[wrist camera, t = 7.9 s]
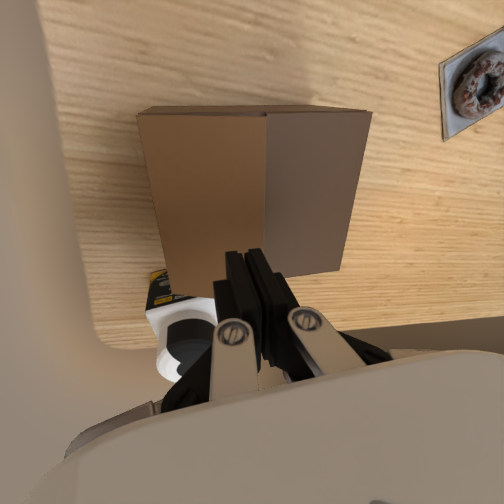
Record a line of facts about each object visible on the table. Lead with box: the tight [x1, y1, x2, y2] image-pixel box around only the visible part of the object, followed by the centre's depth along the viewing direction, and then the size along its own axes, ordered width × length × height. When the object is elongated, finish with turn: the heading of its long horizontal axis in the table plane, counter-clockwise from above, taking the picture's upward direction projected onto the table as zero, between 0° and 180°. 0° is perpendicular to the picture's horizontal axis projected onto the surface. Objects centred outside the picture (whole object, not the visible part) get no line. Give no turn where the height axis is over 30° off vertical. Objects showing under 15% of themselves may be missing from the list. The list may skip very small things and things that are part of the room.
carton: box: [138, 105, 373, 278], centre depth 24 cm, size 15×13×10 cm
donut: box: [439, 27, 504, 142], centre depth 28 cm, size 8×8×2 cm
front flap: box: [136, 115, 267, 299], centre depth 18 cm, size 7×13×1 cm, turn 179°
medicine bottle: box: [145, 270, 218, 383], centre depth 29 cm, size 7×7×12 cm
